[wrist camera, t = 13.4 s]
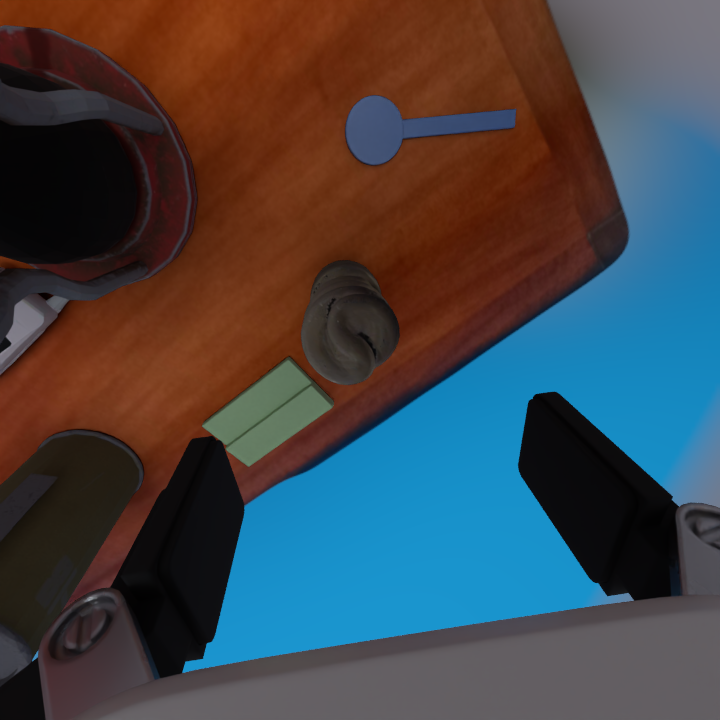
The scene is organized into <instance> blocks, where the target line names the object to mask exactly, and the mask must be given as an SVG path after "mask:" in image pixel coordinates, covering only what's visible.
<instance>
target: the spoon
mask: <svg viewBox="0 0 720 720" xmlns="http://www.w3.org/2000/svg"><path fill="white" fill-rule="evenodd" d="M515 116H516V109H510V110H499V111H489V112H478V113H467V114H457V115H446V116H436V117H425V118H415V119H404V120H402V117H401V114H400V112H399V110H398V109H397V107H396V106H395V105H394V104H393V103H392V102H391V101H390V100H388V99H387V98H385V97H382V96H377V95H372V96H367V97H365V98H363V99H361V100H360V101H358V102H357V103H356V104H355V105H354V106H353V108H352V109H351V111H350V113H349V115H348V118H347V121H346V126H345V137H346V142H347V145H348V148H349V150H350V151H351V153H352V154H353V156H354V157H355V158H356V159H358V160H359V161H360V162H362V163H364V164H367V165H380V164H383V163H385V162H387V161H389V160H390V159H391V158H392V157H393V156H394V155H395V154H396V153H397V151H398V150H399V148H400V146H401V143H402V139H407V138H417V137H428V136H438V135H448V134H459V133H469V132H479V131H489V130H500V129H510V128H514V127H515Z"/></svg>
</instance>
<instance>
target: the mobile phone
mask: <svg viewBox="0 0 720 720" xmlns="http://www.w3.org/2000/svg"><path fill="white" fill-rule="evenodd" d="M3 270H5V268H2V267H0V273H1V272H2V271H3ZM68 301H69V300H68V299H65V298H62V297H59V296H55V295H54V296H53V297H52V298H50V299H48V300H47V301H46V300H45V299H43V298H42V297H41V296H40V295H38V294H37V293H35V294H29V295H27V296H26V297H25V298H24V299H22V300H21V301H20V302H18V303H17V304H16V305H15V307H14V319H13V325H12V327H11V329H10V331H9V333H8V334H7V335H6V337H5V338H4V339H3V341H2V342H1V343H0V375H1V374H2V373H3V372H4V371H5V370H6V369H7V368H8V367H10V366H11V365H12V364H13V363H14V362H15V361H16V360H17V359H18V358H19V357H20V356H21V355H22V354H23V353H24V352H25V351H26V350H27V349H28V347H29V346H30V345H31V344H32V343H33V342H34V341H35V340H36V339H37V338H38V337H39V336H40V335H41V334H42V333H43V332H44V331H45V329H46V328H47V327H48V326H49V325H50V324H51V323H52V322H53V321H54V320H55V319H56V318H57V317H58V313H59V312H60V311H61V310H62V308H63V307H64V306H65V305H66V303H67V302H68Z"/></svg>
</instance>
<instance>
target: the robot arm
mask: <svg viewBox="0 0 720 720" xmlns="http://www.w3.org/2000/svg"><path fill="white" fill-rule="evenodd" d="M518 468H519V472H520V475H521V477H522V478H523V480H524V481H525V483H526V484H527V486H528V487H529V488H530V490H531V491H532V493H533V495H534V496H535V498H536V499H537V500H538V502H539V503H540V505H541V506H542V508H543V510H544V511H545V512H546V514H547V516H548V517H549V519H550V520H551V521H552V523H553V525H554V526H555V528H556V529H557V531H558V532H559V533H560V535H561V536H562V538H563V540H564V541H565V542H566V544H567V545H568V547H569V548H570V550H571V551H572V553H573V554H574V556H575V557H576V559H577V560H578V562H579V563H580V565H581V566H582V568H583V569H584V571H585V572H586V574H587V575H588V577H589V578H590V579H591V580H592V581H593V582H595V583H599V584H600V586H601V588H602V589H603V591H604V592H605V593H606V595H607V596H611V595H618V594H624V593H629V594H630V595H631V597H632V598H633V599H634V601H629V602H621V603H614V604H606V605H598V606H592V607H585V608H578V609H572V610H565V611H558V612H552V613H545V614H538V615H532V616H525V617H518V618H512V619H506V620H498V621H492V622H485V623H480V624H472V625H466V626H459V627H454V628H447V629H441V630H434V631H427V632H422V633H415V634H408V635H402V636H396V637H389V638H383V639H377V640H370V641H364V642H358V643H351V644H345V645H340V646H333V647H327V648H321V649H315V650H308V651H302V652H296V653H290V654H283V655H278V656H271V657H265V658H259V659H254V660H248V661H243V662H238V663H232V664H227V665H221V666H215V667H210V668H204V669H199V670H194V671H190V672H186V673H182V671H183V668H184V664H185V661H191V660H198V659H203V656H204V652H205V648H206V644H207V643H209V642H212V640H213V638H214V636H215V633H216V629H217V624H218V620H219V616H220V612H221V608H222V603H223V600H224V595H225V591H226V587H227V583H228V579H229V575H230V570H231V566H232V562H233V558H234V553H235V549H236V545H237V541H238V537H239V533H240V529H241V525H242V521H243V516H244V502H243V499H242V497H241V494H240V491H239V488H238V485H237V482H236V480H235V477H234V474H233V471H232V468H231V466H230V463H229V460H228V457H227V454H226V451H225V449H224V446H223V443H222V441H221V440H217V441H216V439H215V438H214V437H213V436H209V437H201V438H194V439H192V440H191V441H190V443H189V444H188V446H187V448H186V450H185V452H184V454H183V456H182V458H181V460H180V462H179V464H178V466H177V468H176V470H175V472H174V474H173V476H172V478H171V479H170V481H169V483H168V485H167V487H166V489H164V490H163V491H162V492H161V493H160V495H159V496H158V498H157V500H156V502H155V504H154V506H153V507H152V509H151V511H150V513H149V515H148V517H147V519H146V521H145V523H144V525H143V526H142V528H141V530H140V532H139V534H138V536H137V538H136V540H135V542H134V544H133V545H132V547H131V549H130V551H129V553H128V555H127V557H126V559H125V561H124V563H123V564H122V566H121V568H120V570H119V572H118V574H117V576H116V578H115V580H114V582H113V583H112V585H111V587H110V588H101V589H98V590H95V591H92V592H89V593H87V594H86V595H84V596H82V597H80V598H78V599H77V600H75V601H74V602H73V603H72V604H70V605H69V606H68V607H67V608H65V609H64V610H63V611H62V612H61V613H60V614H59V615H58V617H57V618H56V619H55V620H54V621H53V622H52V624H51V625H50V627H49V628H48V629H47V631H46V632H45V634H44V636H43V638H42V641H41V643H40V646H39V652H38V658H37V659H35V660H34V661H33V662H31V663H30V664H29V665H27V666H26V667H25V668H24V669H22V670H21V671H20V672H18V673H17V674H16V675H15V676H13V677H12V678H11V679H9V680H8V681H7V682H6V683H4V684H3V685H2V686H0V720H720V508H718V507H716V506H712V505H708V504H704V503H687V504H683V505H681V506H680V507H679V506H678V505H677V504H675V503H674V502H673V501H672V497H673V496H671V494H669V493H668V492H667V491H666V490H665V489H664V488H663V487H662V486H660V485H659V484H658V483H657V482H656V481H655V480H654V479H653V478H652V477H651V476H650V475H648V474H647V473H646V472H645V471H644V470H643V469H642V468H641V467H640V466H638V465H637V464H636V463H635V462H634V461H633V460H632V459H631V458H630V457H628V456H627V455H626V454H625V453H624V452H623V451H622V450H621V449H620V448H619V447H617V446H616V445H615V444H614V443H613V442H612V441H611V440H610V439H609V438H607V437H606V436H605V435H604V434H603V433H602V432H601V431H600V430H599V429H598V428H596V427H595V426H594V425H593V424H592V423H591V422H590V421H589V420H588V419H586V418H585V417H584V416H583V415H582V414H581V413H580V412H578V410H576V409H575V408H574V407H573V406H572V405H571V404H570V403H569V402H568V401H567V400H565V399H564V398H563V397H562V396H561V395H560V394H558V393H557V392H548V393H541V394H536V395H534V397H533V399H531V400H530V401H529V403H528V407H527V414H526V420H525V425H524V432H523V438H522V444H521V450H520V457H519V463H518Z"/></svg>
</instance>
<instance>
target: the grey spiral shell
mask: <svg viewBox="0 0 720 720" xmlns="http://www.w3.org/2000/svg"><path fill="white" fill-rule="evenodd" d="M399 336H400V334H399V325H398V321H397V318H396V316H395V314H394V312H393V310H392V309H391V308H390V306H389V305H388V303H387V302H386V300H385V299H384V298H383V297H382V295H381V290H380V287H379V285H378V283H377V280H376V279H375V278H374V276H373V275H372V274H371V273H370V271H369V270H368V269H367V268H366V267H365V266H363V265H361V264H359V263H357V262H353V261H349V260H340V261H335V262H333V263H330V264H328V265H327V266H325V267H324V268H323V269H322V270H321V271H320V272H319V274H318V275H317V277H316V278H315V281H314V283H313V286H312V290H311V298H310V303H309V305H308V307H307V309H306V312H305V315H304V321H303V325H302V330H301V341H302V347H303V350H304V353H305V355H306V358H307V360H308V362H309V363H310V364H311V366H312V367H313V368H314V369H315V370H316V371H317V372H318V373H319V374H320V375H322V376H323V377H324V378H326V379H328V380H329V381H332V382H335V383H338V384H343V385H351V384H357V383H360V382H362V381H364V380H366V379H367V378H368V377H369V376H370V375H371V374H372V372H373V370H374V369H375V368H376V367H378V366H379V365H381V364H382V363H383V362H385V361H386V360H387V359H388V358H389V357H390V356H391V354H392V353H393V351H394V350H395V348H396V346H397V344H398V341H399Z"/></svg>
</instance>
